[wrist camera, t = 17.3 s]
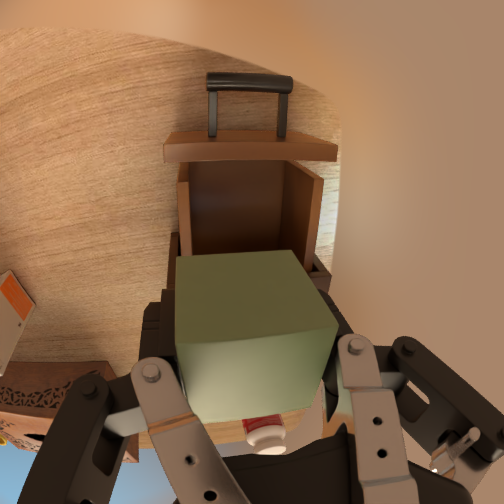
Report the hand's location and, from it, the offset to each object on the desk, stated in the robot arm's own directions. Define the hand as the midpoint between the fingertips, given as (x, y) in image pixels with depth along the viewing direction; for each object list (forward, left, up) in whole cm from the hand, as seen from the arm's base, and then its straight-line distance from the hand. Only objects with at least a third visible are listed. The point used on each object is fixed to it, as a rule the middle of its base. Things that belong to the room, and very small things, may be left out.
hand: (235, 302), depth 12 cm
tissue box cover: (+39, -15, -18) cm, 45 cm away
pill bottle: (+31, +18, -18) cm, 40 cm away
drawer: (-1, +2, -16) cm, 17 cm away
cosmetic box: (+19, -20, -18) cm, 33 cm away
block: (0, 0, 0) cm, 0 cm away
